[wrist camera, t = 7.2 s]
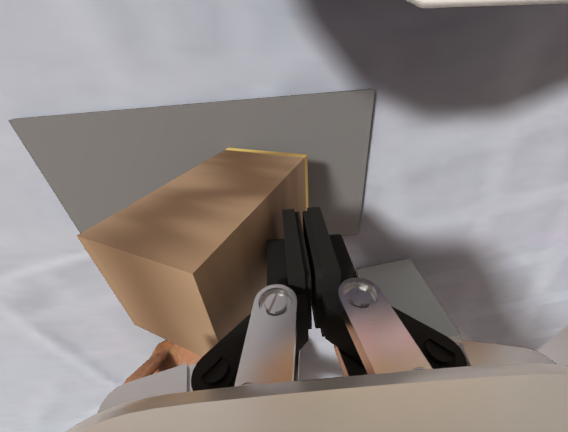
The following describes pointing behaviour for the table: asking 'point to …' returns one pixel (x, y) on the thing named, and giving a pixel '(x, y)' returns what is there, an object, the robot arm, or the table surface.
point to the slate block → (410, 294)
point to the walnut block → (200, 244)
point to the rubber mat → (202, 149)
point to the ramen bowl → (479, 3)
